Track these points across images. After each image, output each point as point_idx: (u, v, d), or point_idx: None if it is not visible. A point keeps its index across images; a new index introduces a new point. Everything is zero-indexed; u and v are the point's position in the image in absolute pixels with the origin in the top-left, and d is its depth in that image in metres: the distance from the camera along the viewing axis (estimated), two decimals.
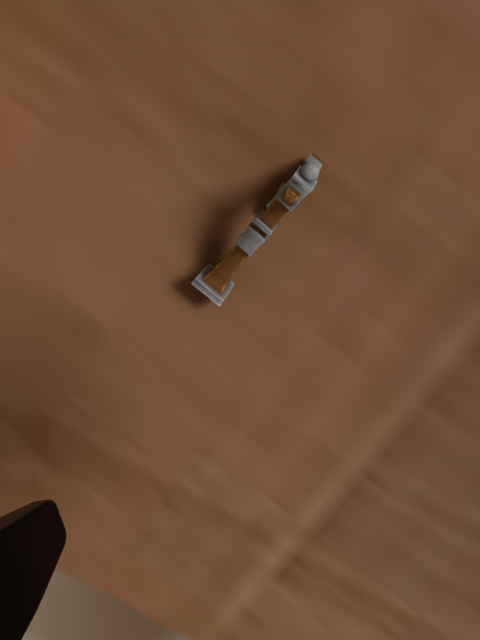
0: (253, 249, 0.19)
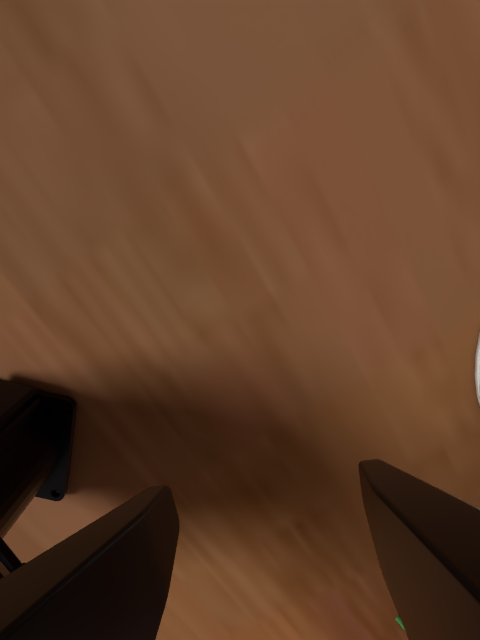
0: None
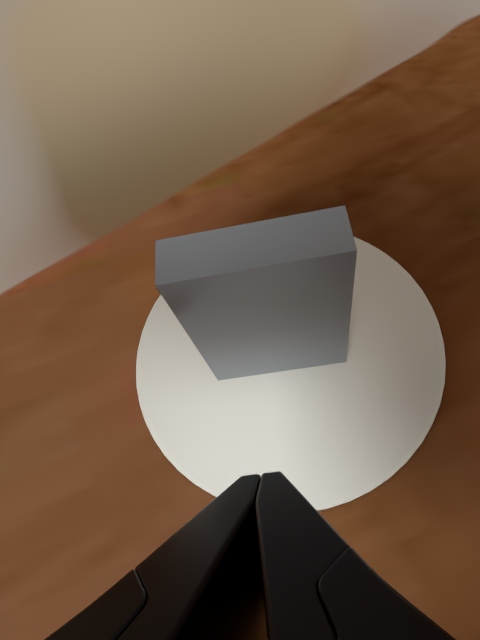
0: None
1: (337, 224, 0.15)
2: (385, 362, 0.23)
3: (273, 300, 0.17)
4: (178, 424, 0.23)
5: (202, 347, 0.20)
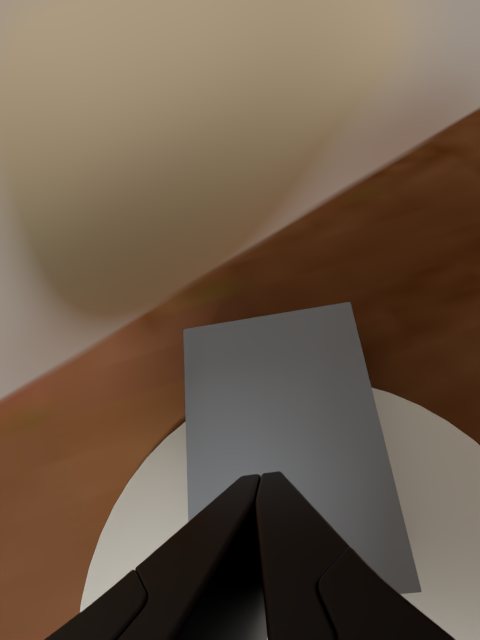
0: None
1: None
2: None
3: (282, 366, 0.17)
4: None
5: (194, 462, 0.16)
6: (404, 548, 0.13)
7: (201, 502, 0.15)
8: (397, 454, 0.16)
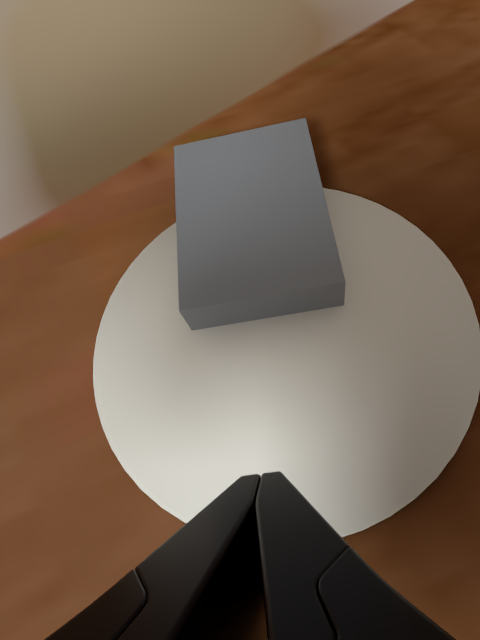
0: None
1: None
2: (405, 350, 0.18)
3: (251, 162, 0.21)
4: (143, 430, 0.18)
5: (182, 226, 0.20)
6: (335, 259, 0.18)
7: (187, 249, 0.20)
8: (339, 227, 0.21)
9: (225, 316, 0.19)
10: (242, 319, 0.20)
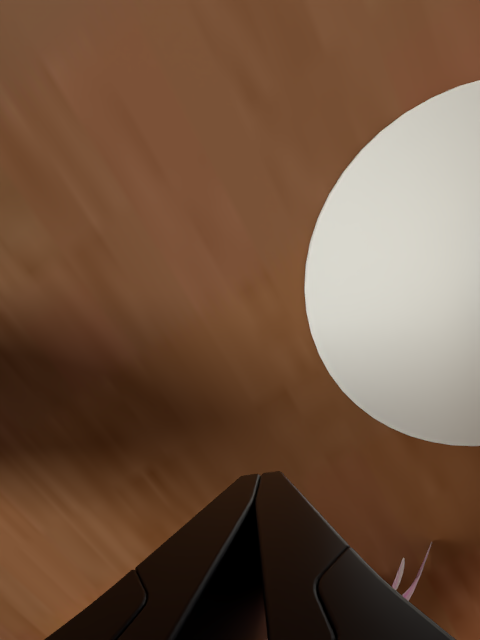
0: None
1: None
2: (458, 393, 0.21)
3: None
4: (400, 161, 0.18)
5: None
6: None
7: None
8: None
9: None
10: None
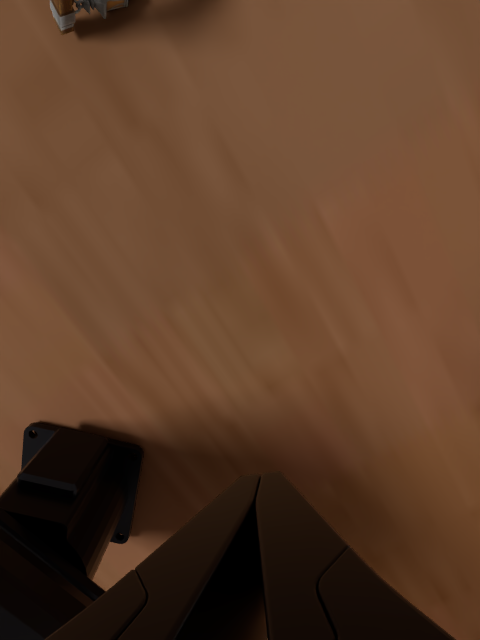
0: None
1: None
2: None
3: None
4: None
5: None
6: None
7: None
8: None
9: None
10: None
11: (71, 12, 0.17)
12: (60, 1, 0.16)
